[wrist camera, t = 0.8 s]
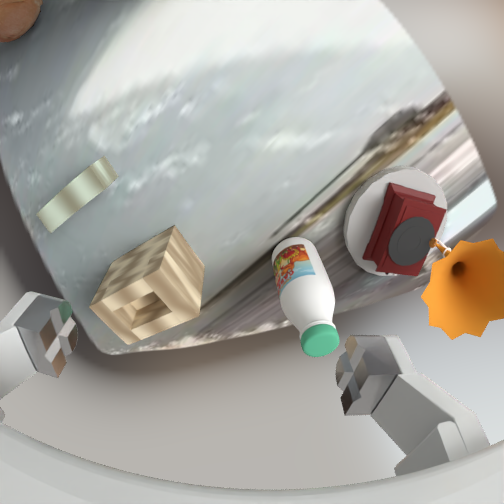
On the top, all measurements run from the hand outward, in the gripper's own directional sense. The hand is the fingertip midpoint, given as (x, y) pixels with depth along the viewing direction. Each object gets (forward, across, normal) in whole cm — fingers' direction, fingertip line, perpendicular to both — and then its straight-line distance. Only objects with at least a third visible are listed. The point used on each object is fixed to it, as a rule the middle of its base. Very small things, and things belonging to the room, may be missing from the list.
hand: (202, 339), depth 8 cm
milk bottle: (+39, -10, +17) cm, 44 cm away
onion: (+33, +37, -23) cm, 55 cm away
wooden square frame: (+38, +12, +21) cm, 45 cm away
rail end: (+36, +23, +6) cm, 43 cm away
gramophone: (+40, -28, +8) cm, 49 cm away
